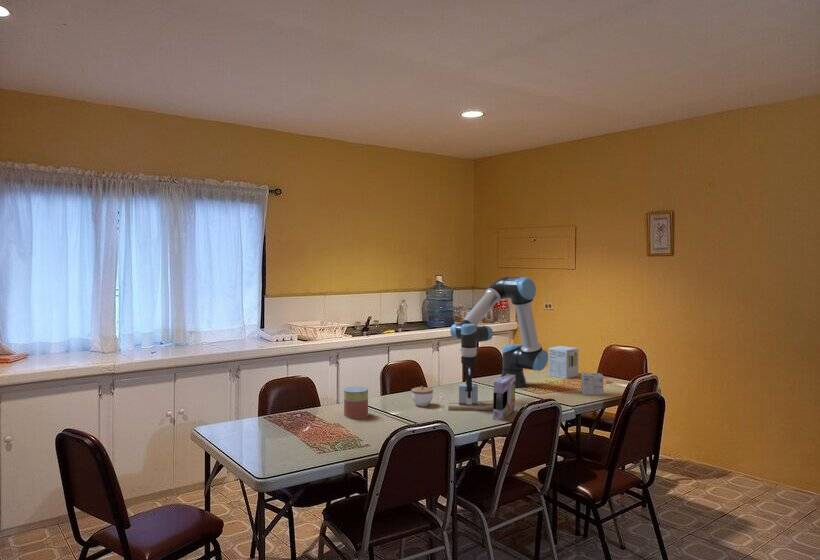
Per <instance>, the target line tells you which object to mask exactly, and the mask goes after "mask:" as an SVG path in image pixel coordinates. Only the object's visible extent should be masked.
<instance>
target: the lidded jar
mask: <svg viewBox="0 0 820 560" xmlns="http://www.w3.org/2000/svg"><path fill="white" fill-rule="evenodd" d="M410 390H411V398H412V399H411V400H412V402H413V403H414V404H415V405H416V406H417V407H428V406H429V404H430V403H431V402H432V400H433V397H434V396H433V395H434V394H433V392H434V389H433V388H431V387H429V386H427V387H426V386H425V387H424V386H423V385H420V386H417V387H414V388H411V389H410Z"/></svg>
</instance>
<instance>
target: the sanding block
mask: <svg viewBox="0 0 820 560" xmlns="http://www.w3.org/2000/svg"><path fill="white" fill-rule="evenodd" d="M478 389H479V387H478V384H474V383H472V405H478V401H479V400H478V399H479V398H478V397H479V395H478V393H479V390H478ZM465 390H467V384H466V383H459V384H458V401H459V405H468V404H466V391H465Z"/></svg>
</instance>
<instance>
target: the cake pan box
mask: <svg viewBox="0 0 820 560" xmlns="http://www.w3.org/2000/svg"><path fill="white" fill-rule="evenodd" d="M492 394H493V395H492V396H493V397H492V398H493V399H492V401H493V411H492V420H495V419H498V420H497V421H503V420H504V419H505V418H507V417H508V416H509V415H511V414H512V413H514V411H515V404H516V400H515V399H516V387H515V375H511V374H506V375H505V376H503V377H501V376H500V377H499V378H498V379H496V380H494V381H493V393H492ZM502 419H503V420H502Z"/></svg>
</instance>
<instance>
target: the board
mask: <svg viewBox="0 0 820 560" xmlns="http://www.w3.org/2000/svg"><path fill="white" fill-rule="evenodd" d="M447 405H448V407H447V409H448V411H468V410H493V400H478V405H459V400H452V399H451V400H448V402H447Z"/></svg>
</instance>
